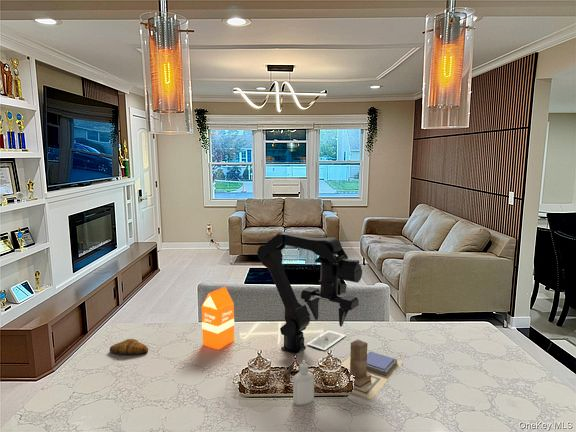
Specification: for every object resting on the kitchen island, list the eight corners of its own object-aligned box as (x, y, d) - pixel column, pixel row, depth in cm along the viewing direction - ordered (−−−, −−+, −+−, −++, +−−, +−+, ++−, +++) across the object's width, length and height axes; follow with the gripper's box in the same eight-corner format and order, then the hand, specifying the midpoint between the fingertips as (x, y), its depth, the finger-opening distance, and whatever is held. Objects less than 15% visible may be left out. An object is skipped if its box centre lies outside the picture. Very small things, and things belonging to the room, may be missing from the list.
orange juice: (234, 340, 147) (233, 288, 145) (218, 349, 140) (217, 295, 137) (218, 335, 151) (217, 284, 149) (202, 344, 144) (200, 291, 141)
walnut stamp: (345, 380, 120) (345, 342, 119) (356, 373, 124) (357, 337, 122) (359, 387, 116) (360, 349, 115) (370, 380, 120) (372, 343, 118)
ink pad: (357, 367, 128) (357, 361, 128) (369, 355, 136) (370, 350, 136) (386, 376, 123) (386, 371, 122) (397, 363, 130) (397, 358, 130)
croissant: (152, 348, 141) (151, 335, 140) (144, 358, 134) (143, 344, 134) (115, 347, 142) (114, 334, 141) (105, 356, 135) (104, 342, 135)
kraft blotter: (321, 381, 120) (321, 380, 120) (359, 348, 141) (359, 348, 141) (371, 400, 111) (371, 399, 111) (403, 361, 132) (403, 361, 132)
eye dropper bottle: (313, 406, 108) (313, 365, 106) (292, 405, 108) (292, 363, 107) (314, 397, 112) (314, 357, 110) (294, 396, 113) (294, 356, 111)
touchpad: (346, 338, 150) (346, 332, 150) (324, 353, 139) (324, 347, 138) (328, 332, 155) (328, 327, 155) (306, 346, 143) (306, 341, 143)
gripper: (366, 276, 130) (365, 321, 132) (317, 267, 141) (317, 309, 143) (351, 284, 121) (350, 333, 123) (300, 274, 132) (299, 319, 134)
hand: (328, 322), depth 131 cm, fingers open, 9 cm apart
